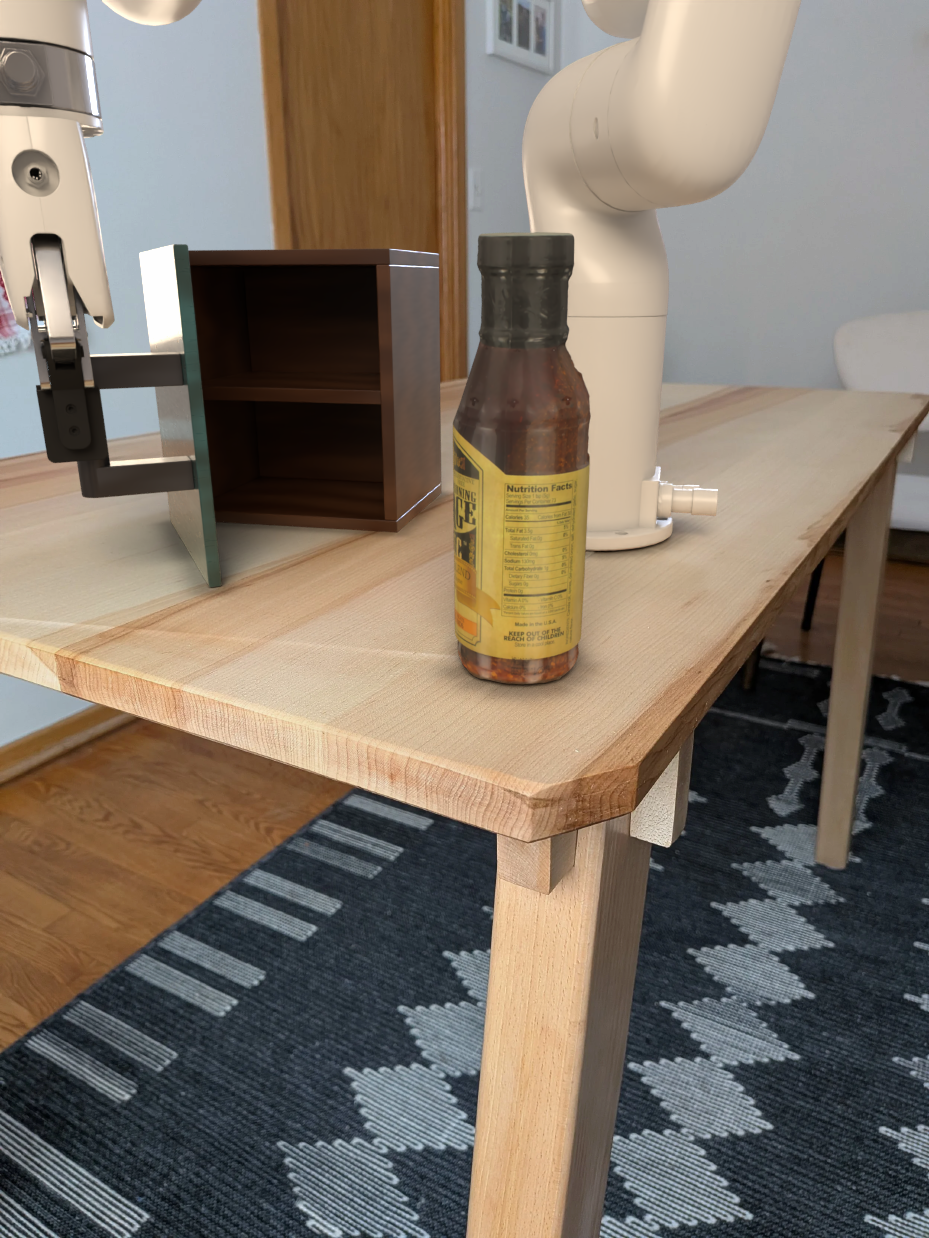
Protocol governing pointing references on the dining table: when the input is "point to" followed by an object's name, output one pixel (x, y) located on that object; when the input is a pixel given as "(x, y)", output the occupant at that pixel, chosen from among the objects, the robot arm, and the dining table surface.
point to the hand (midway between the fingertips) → (77, 454)
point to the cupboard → (320, 384)
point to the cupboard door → (165, 411)
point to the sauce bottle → (521, 469)
